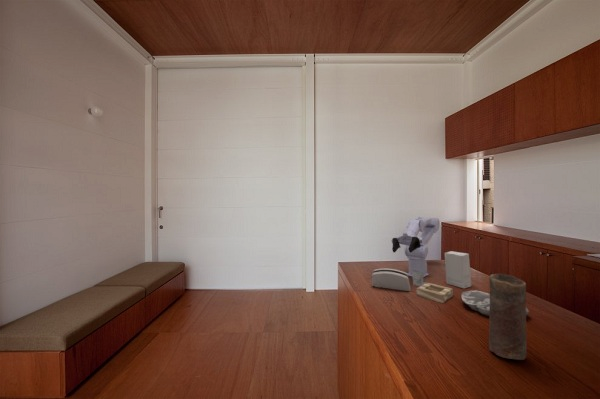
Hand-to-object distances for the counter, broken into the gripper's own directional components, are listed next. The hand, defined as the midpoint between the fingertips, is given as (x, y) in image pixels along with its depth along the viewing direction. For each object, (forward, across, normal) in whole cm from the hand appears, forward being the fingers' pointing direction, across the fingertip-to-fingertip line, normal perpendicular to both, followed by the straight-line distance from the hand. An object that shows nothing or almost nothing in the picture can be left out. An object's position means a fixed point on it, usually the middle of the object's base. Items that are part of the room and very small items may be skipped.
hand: (401, 250), depth 111 cm
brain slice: (+10, +29, +19) cm, 36 cm away
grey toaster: (+11, -6, +13) cm, 18 cm away
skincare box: (-9, +15, +25) cm, 31 cm away
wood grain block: (0, +2, +19) cm, 19 cm away
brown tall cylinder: (+35, +37, +8) cm, 52 cm away
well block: (+9, +12, +16) cm, 22 cm away
